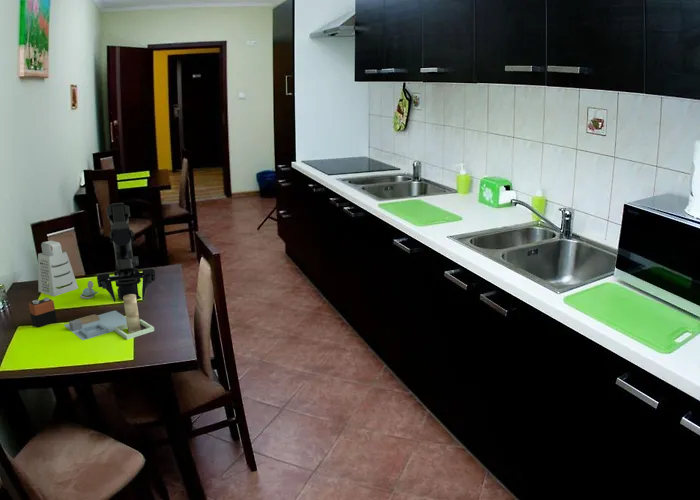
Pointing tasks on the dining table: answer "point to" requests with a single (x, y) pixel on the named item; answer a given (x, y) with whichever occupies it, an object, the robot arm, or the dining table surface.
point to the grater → (55, 270)
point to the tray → (135, 334)
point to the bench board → (96, 324)
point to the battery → (42, 312)
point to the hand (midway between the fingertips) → (129, 299)
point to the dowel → (131, 313)
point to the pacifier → (88, 291)
